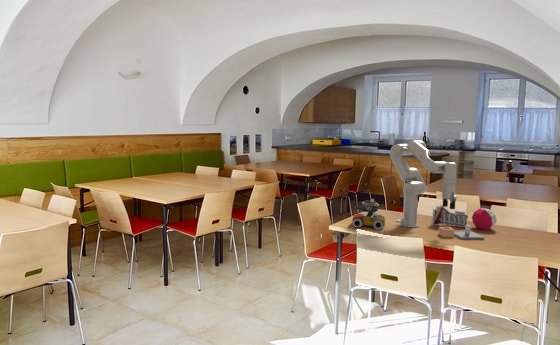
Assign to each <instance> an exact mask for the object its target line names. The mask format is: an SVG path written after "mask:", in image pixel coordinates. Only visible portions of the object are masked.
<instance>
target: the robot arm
mask: <svg viewBox="0 0 560 345" xmlns="http://www.w3.org/2000/svg"><path fill="white" fill-rule="evenodd" d="M430 155H431V151H430V150H429V149H427V144H426V143H425V141H423V140H411V141H408V142H407V143H397V144H393V145H392V146H391V148H390V150H389V157H390V160H391V161H392V163H393V165H394V167H395V169H396V172H397V174H398V176H399V178H400V180H401V181H403V182H405V183H404V185H403V186H402V192H403V208H402V209H403V211H402V218H401V219H395V223H399V225H400V226H401V227H404V228H418V227H419V226H420V225H419V223H418V209H419V208H418V203H419V202H418V201H419V200H418V197H417V196H418V195H422V194H424V193H426V191H427V184H426V182H425V180H424V178H423V176H422V174H421V172H420V170H419V169H418V168H416V167H409V165H408V162H407V161H406V159H404V158H403V157H402V156H414V157H416V158H417V159H418V160H420V164H421V166H422V167H423V168H424V169H425V170H427V171H428V172H429V173H431V174H443V183H442V190H441V198H442V206H443V207H444V208H446V207H448V205H449V209H450V210H455V209H456V202H457V197H458V196H457V195H456V194H457V192H456V189H457V188H456V184H457V163H456V162H450V161H449V162H448V161H443V160H442V161H434V160H433V159H431V158H430ZM449 201H450V202H449Z"/></svg>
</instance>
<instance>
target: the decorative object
mask: <svg viewBox="0 0 560 345" xmlns="http://www.w3.org/2000/svg"><path fill="white" fill-rule="evenodd" d="M471 219H472V224H473V225H474V227H475V229H476V228H477V229H479V230H481V229H482V231H489V230H491V229H492V228H494V227H495V225H496V223H497V222H498V221H497V215H496V214H495V212H494V211H493V210H492V209H489V208H478V209H475V211H474V212H473V213H472V215H471Z"/></svg>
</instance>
